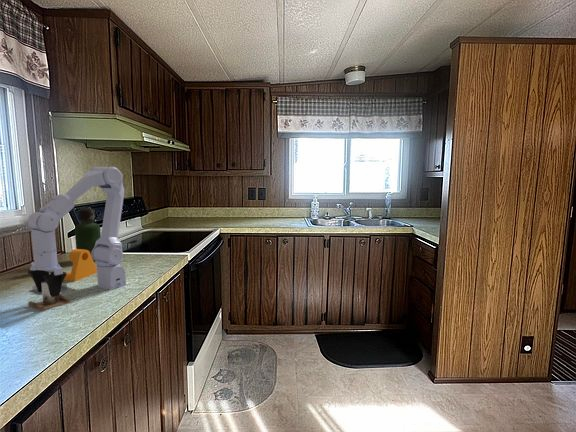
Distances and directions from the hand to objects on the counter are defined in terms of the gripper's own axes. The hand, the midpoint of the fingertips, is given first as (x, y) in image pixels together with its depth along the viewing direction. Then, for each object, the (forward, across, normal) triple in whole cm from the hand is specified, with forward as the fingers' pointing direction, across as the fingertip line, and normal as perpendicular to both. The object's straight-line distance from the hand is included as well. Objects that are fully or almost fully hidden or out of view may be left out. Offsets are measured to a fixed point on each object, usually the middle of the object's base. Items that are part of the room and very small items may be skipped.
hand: (48, 293), depth 101 cm
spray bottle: (+5, -45, +38) cm, 59 cm away
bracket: (+5, -21, +20) cm, 29 cm away
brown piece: (+4, 0, 0) cm, 4 cm away
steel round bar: (+3, 0, 0) cm, 3 cm away
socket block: (+4, -12, +7) cm, 15 cm away
